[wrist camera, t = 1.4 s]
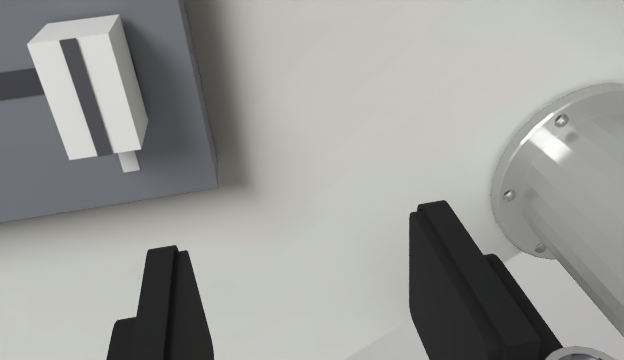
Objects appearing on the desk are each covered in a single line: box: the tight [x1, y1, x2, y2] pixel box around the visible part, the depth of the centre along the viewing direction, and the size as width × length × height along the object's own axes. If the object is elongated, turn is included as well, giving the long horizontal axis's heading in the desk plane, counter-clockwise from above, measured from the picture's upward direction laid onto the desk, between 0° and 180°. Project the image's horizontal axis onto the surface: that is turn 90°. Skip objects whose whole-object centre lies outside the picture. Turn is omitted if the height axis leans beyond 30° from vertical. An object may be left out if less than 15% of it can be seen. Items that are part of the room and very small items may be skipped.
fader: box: [27, 14, 148, 160], centre depth 23 cm, size 3×5×3 cm, turn 6°
